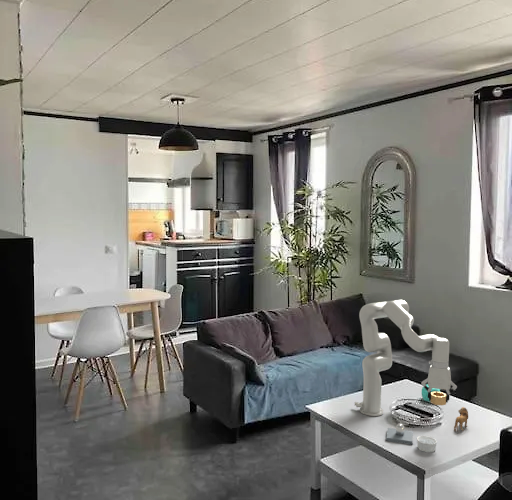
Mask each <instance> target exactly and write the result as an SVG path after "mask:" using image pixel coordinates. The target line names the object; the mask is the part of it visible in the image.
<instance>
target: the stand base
mask: <svg viewBox="0 0 512 500" xmlns="http://www.w3.org/2000/svg"><path fill="white" fill-rule="evenodd" d="M413 436H414V430H407V429H404V436H397V435H396V428H391V427H388V428H387V431H386V440H385V441H387V442H392V443H393V442H394V443H400V444H406V445H413V443H414V440H413V439H414V437H413Z"/></svg>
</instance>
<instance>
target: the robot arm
mask: <svg viewBox="0 0 512 500" xmlns="http://www.w3.org/2000/svg"><path fill="white" fill-rule="evenodd" d="M409 311H410V306H409V304H408V302H406V301H405V300H403V299H395V300H387V301H386V300H385V301H379V302H371V303H367V304H365V305H363V306H362V307H361V308H360V310H359V315H358V316H359V321H360V327H361V336H362V337H361V338H362V343H363V344H362V346H363V349H364V350H365V351H366V352H368V353H372V354H368V355H367V356H365V357H364V358H363V359H362V361H361V362H362V364H361V366H362V372H363V384H362V385H363V390H362V392H363V394H362V401H361V402H357V401H355V402H354V406H355V407H356V408H359V412H360V413H361V414H363V415H364V416H369V417H379V416H382V415H383V414H384V409H383V408H382V407H381V406H382V402H381V401H382V378H381V375H380V372H383V371H386V370H389V369H390V368H391V367H392V365H393V353H392V344H391V340H390V337H389V336H388V334H386V333H385V332H379V329H378V328H379V327H378V324H377V322H376V320H377V319H383V318H388V319H390V320H391V322H393V324H394V325H396V326H397V327H398V328H399V329H400V331H401V336H402V338H403V341H404V342H405V343H406V344H407V345H408V346H409V347H410V348H411V349H412V350H414V351H416V352H418V353H424V352H427V351H431V352H432V353H431V360H428V364H429V365H430V366H429V370H428V376H427V378H426V379H424V380H422V381H421V385H422V388H423V387H424V388H425V389H426V390H427V391H428V398H429V401H430V400H431V389H432V388H435V389H440V390H445V394H446V396H447V397H446V404H447V403H449V401H450V396H451V394H452V393H453V392H454V391H456V389H457V388H458V386H457V385H456V384H455V383H454V382H453V381H452V377H451V375H452V373H451V369H450V367H449V357H450V341H449V340H448V339H447V338H445V337H439V336H438V335H435V334H431V333H428V334H423V335H422V334H421V335H418V334H417V333H416V332H415V331H414V330H413V329H412V327H413V324H414V322H415V318H414V317H413V315H411V314H410V313H409ZM427 384H428V386H429V387H427V386H426V385H427ZM451 386H452V387H451Z"/></svg>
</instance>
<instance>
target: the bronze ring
mask: <svg viewBox="0 0 512 500" xmlns="http://www.w3.org/2000/svg"><path fill="white" fill-rule="evenodd" d="M446 397H447V396H446V393H444V392H441V391H440V392H431V400H430V402H429V403H430V404H433V405H435V406H446V405H447V403H446Z"/></svg>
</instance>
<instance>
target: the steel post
mask: <svg viewBox="0 0 512 500" xmlns="http://www.w3.org/2000/svg"><path fill="white" fill-rule="evenodd" d="M395 429H396V435H397V436H404V430H405V426H404V423H401V422H400V423H396V425H395Z"/></svg>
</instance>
